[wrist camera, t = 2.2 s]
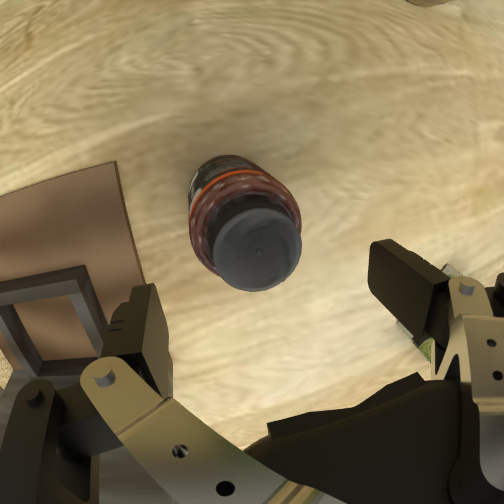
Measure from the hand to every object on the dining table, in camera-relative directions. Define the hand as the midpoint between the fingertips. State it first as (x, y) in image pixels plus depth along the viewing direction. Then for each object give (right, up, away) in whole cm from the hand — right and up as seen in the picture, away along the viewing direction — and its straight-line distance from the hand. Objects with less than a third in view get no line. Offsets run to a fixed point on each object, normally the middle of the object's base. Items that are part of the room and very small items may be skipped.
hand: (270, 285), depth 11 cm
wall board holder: (-19, -3, +13) cm, 23 cm away
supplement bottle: (-3, +6, +13) cm, 14 cm away
